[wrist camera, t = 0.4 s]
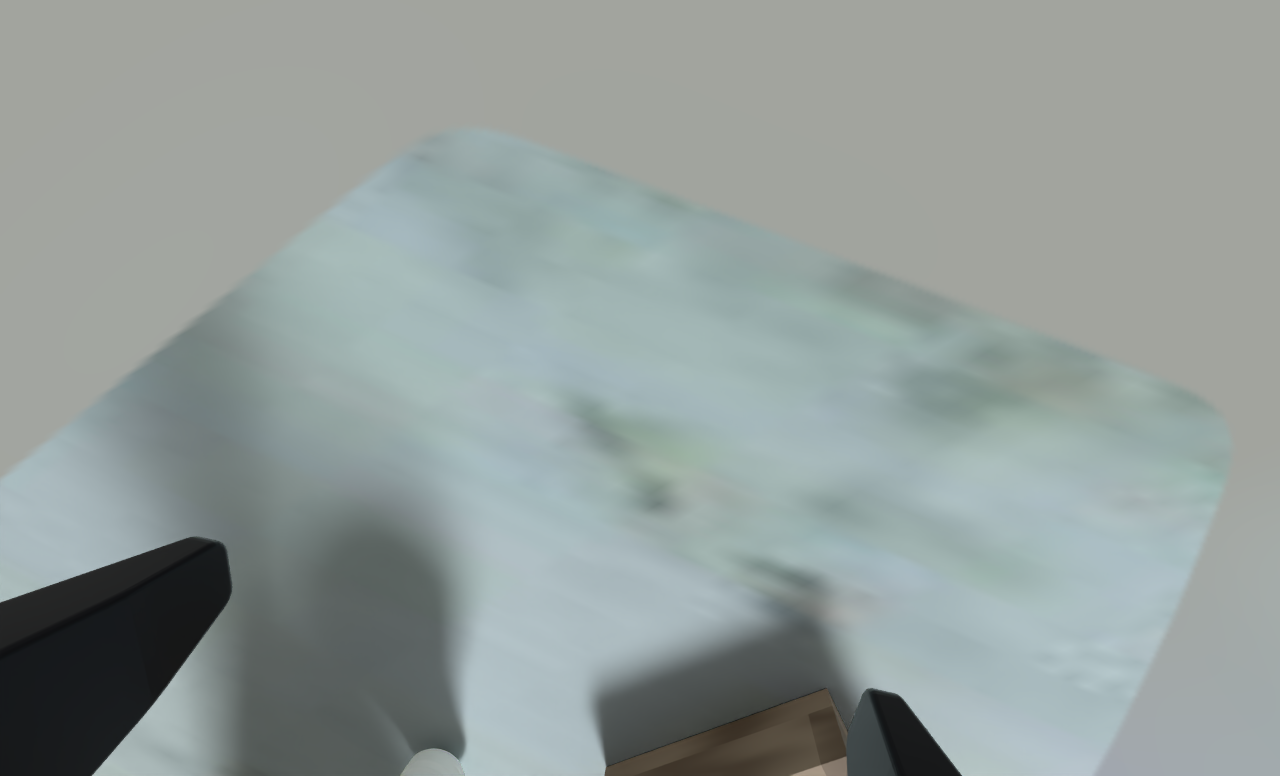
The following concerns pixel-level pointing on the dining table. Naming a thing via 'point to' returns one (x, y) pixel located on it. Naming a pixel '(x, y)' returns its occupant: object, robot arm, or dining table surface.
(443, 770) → the lightbulb
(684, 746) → the brown square tray
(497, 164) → the dining table surface
